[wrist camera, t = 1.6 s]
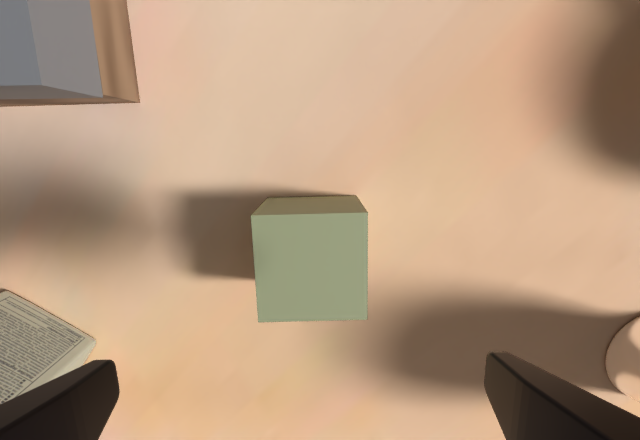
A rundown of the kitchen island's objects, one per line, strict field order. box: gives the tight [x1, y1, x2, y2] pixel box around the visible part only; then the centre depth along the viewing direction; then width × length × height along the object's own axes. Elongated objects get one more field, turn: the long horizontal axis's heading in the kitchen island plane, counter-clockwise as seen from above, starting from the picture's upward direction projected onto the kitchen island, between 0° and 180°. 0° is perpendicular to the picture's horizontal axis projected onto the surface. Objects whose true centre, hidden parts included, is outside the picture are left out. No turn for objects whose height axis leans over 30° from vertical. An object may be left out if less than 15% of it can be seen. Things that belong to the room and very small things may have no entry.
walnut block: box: [0, 0, 140, 107], centre depth 16 cm, size 8×8×4 cm
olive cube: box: [251, 195, 368, 322], centre depth 18 cm, size 5×5×5 cm
